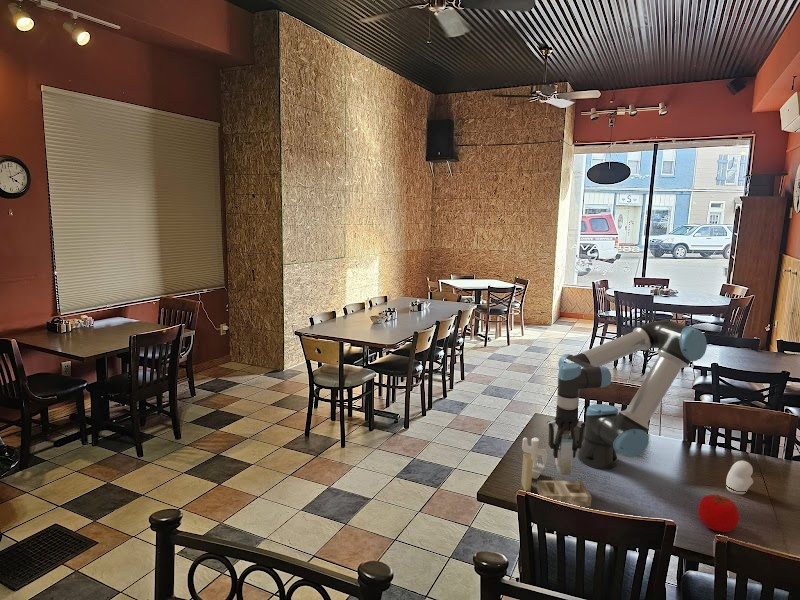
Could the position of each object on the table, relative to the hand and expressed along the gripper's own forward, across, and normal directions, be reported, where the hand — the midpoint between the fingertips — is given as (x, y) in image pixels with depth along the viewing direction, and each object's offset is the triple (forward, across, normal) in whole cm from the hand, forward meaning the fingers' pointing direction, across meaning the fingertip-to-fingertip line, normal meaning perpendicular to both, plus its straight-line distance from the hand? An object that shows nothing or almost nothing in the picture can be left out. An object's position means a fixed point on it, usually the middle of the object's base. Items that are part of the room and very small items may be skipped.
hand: (563, 465), depth 195 cm
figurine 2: (+10, -64, +2) cm, 65 cm away
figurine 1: (+8, +10, -6) cm, 14 cm away
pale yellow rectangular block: (+7, +14, +3) cm, 16 cm away
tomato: (+9, -43, +24) cm, 50 cm away
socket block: (+8, +3, +10) cm, 13 cm away
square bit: (+3, 0, 0) cm, 3 cm away
